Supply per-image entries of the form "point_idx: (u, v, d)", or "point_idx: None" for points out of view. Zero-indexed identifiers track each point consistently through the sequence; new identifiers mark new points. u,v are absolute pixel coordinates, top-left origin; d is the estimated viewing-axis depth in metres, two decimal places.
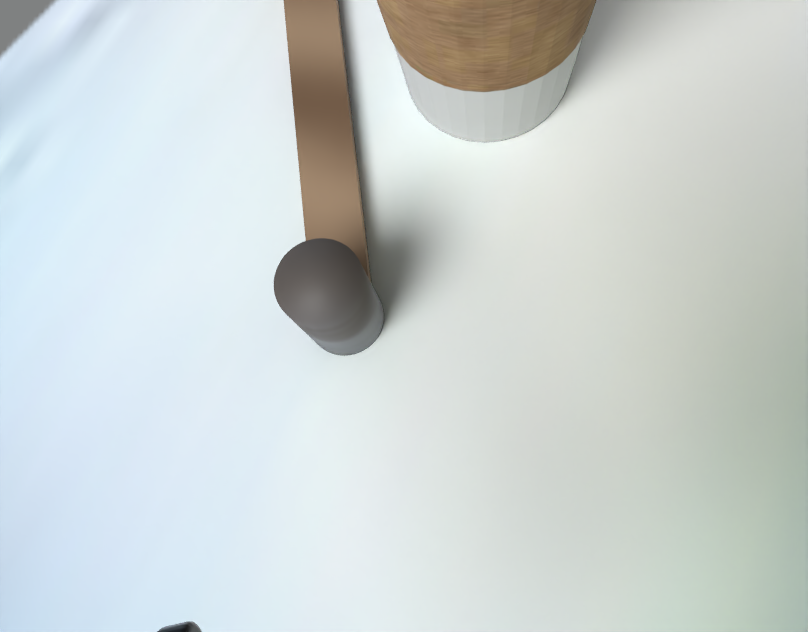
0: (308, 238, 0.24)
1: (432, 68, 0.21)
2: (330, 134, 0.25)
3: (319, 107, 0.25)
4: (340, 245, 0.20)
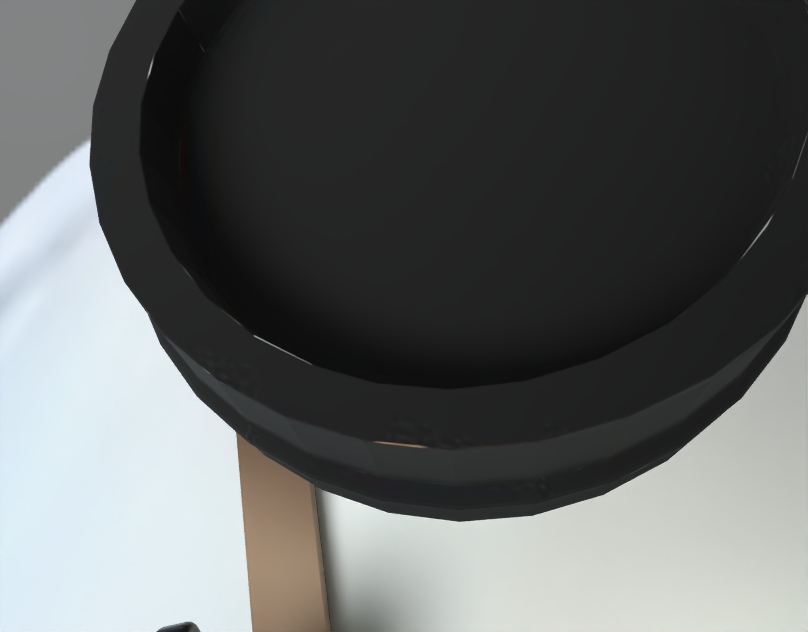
0: (255, 626, 0.19)
1: None
2: (282, 477, 0.20)
3: None
4: None
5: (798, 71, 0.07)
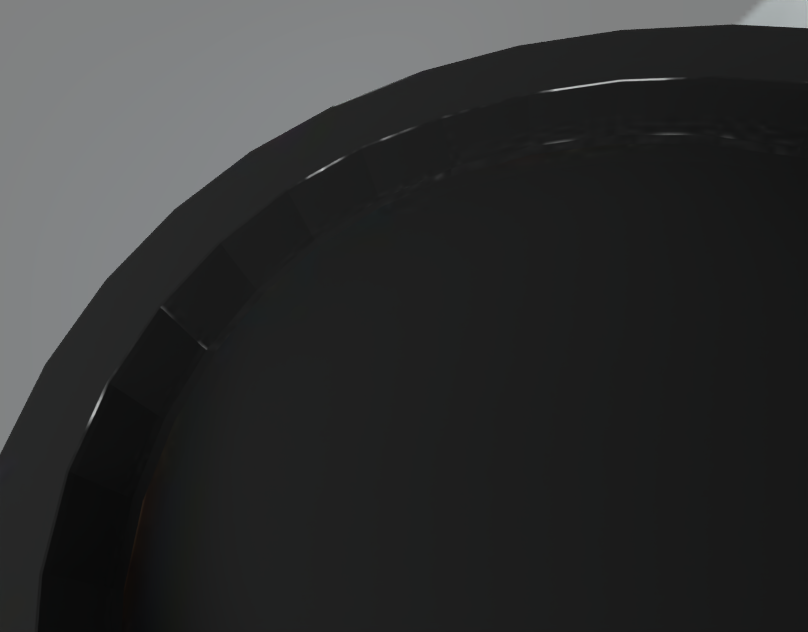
0: None
1: None
2: None
3: None
4: None
5: None
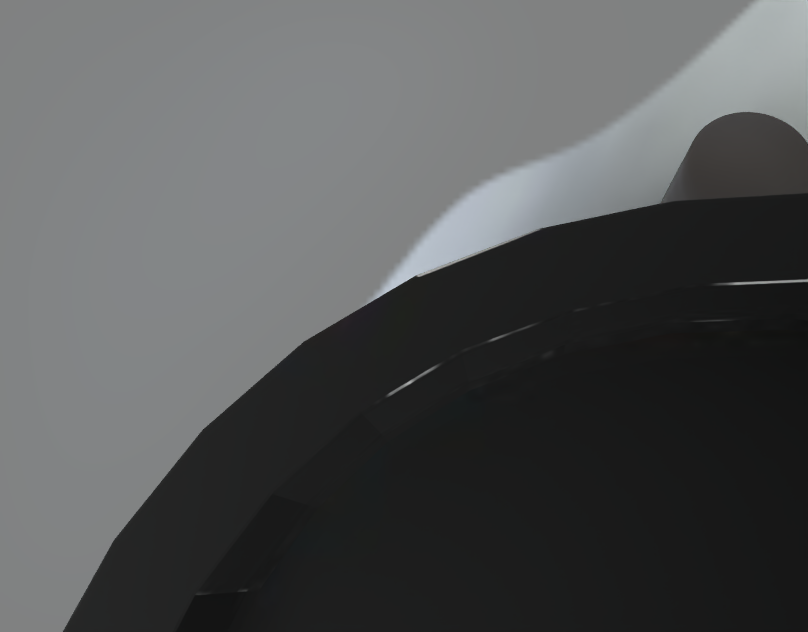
0: None
1: None
2: None
3: None
4: None
5: None
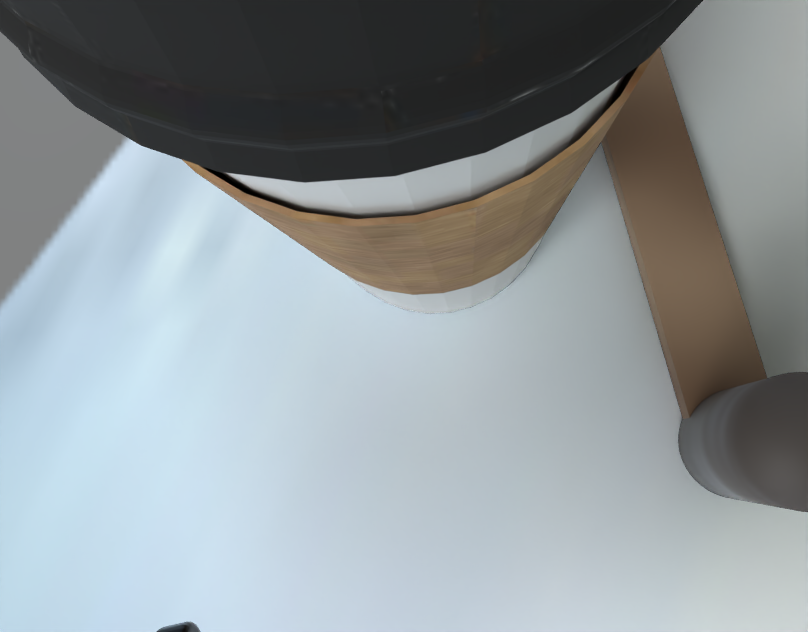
0: (669, 336, 0.17)
1: (336, 267, 0.14)
2: (671, 182, 0.18)
3: (647, 143, 0.18)
4: None
5: None
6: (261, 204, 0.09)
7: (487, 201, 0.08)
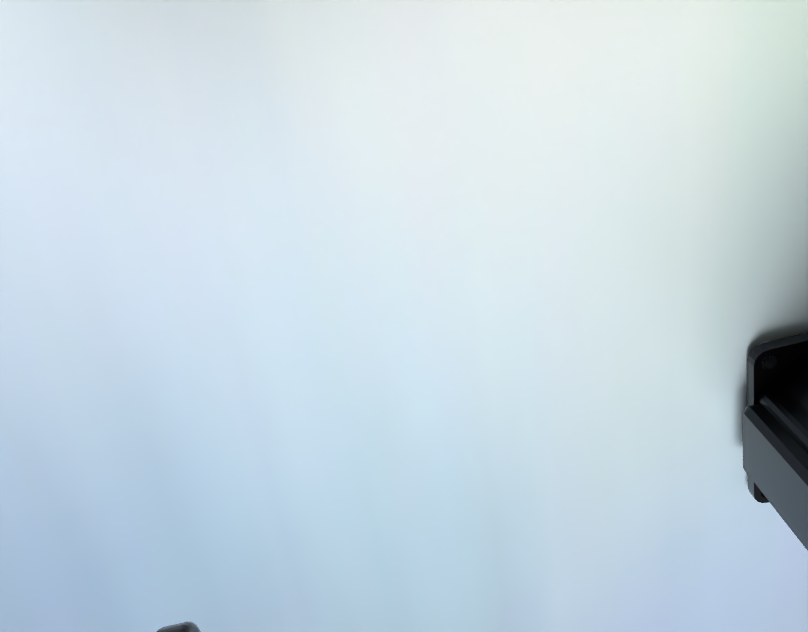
0: None
1: None
2: None
3: None
4: None
5: None
6: None
7: None
